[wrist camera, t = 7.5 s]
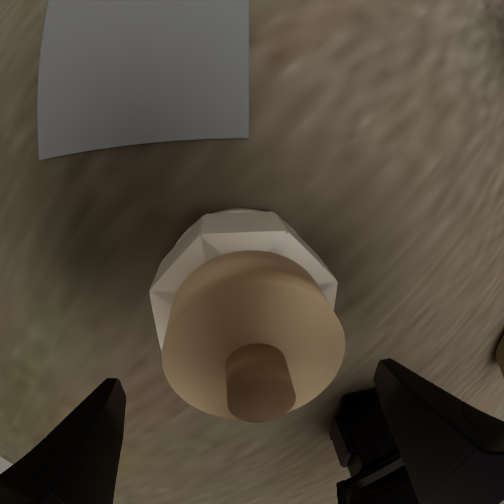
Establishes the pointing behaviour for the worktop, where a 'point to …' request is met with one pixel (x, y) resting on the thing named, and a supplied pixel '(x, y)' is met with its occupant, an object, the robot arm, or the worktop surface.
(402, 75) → the worktop surface
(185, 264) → the bowl
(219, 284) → the lid
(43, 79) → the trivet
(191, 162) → the worktop surface
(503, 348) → the squeeze bottle
